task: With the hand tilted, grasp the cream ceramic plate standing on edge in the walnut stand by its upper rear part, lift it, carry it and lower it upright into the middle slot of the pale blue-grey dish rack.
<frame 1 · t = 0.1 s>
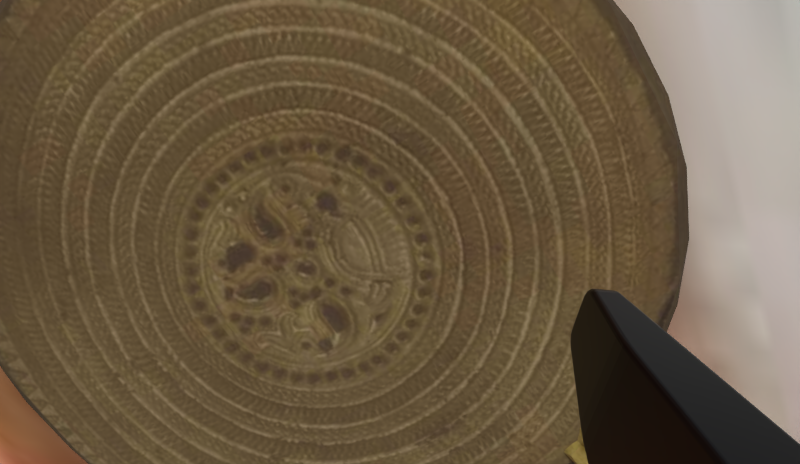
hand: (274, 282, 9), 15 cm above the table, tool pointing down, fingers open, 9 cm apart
decorative disc: (337, 256, 26), on the table
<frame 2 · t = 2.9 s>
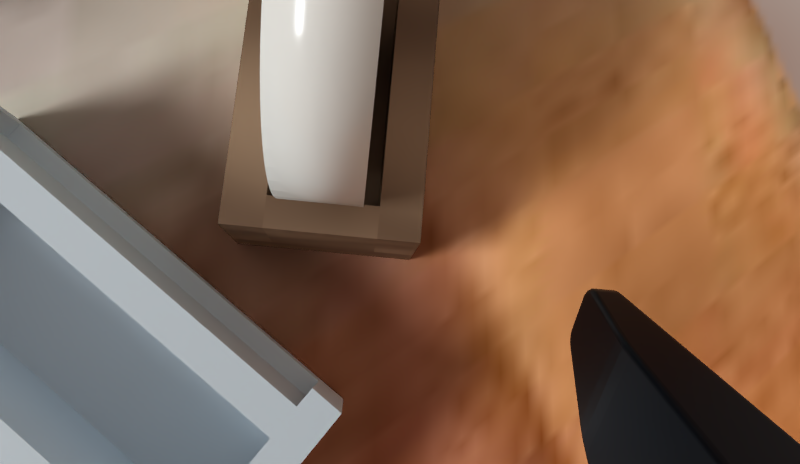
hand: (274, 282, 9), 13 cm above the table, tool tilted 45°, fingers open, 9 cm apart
plate: (337, 21, 18), point 6 cm above the table, tilted 12°, touching stand
stand: (342, 78, 24), on the table
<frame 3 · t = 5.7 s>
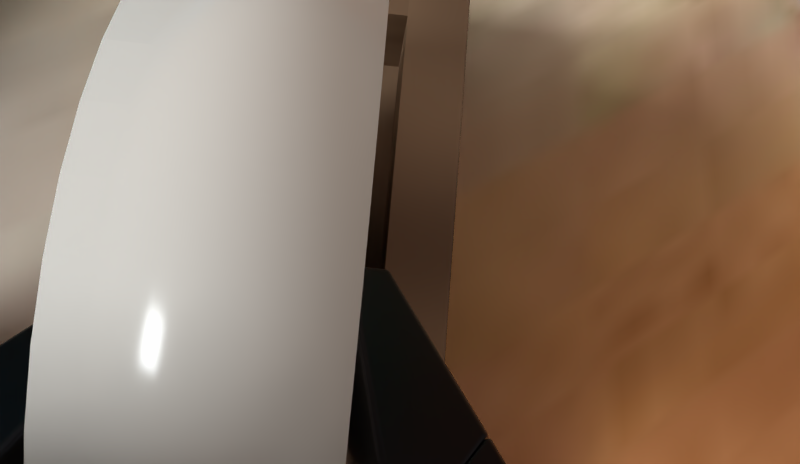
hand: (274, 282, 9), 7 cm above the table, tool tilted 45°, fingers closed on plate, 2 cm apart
plate: (278, 298, 10), point 6 cm above the table, tilted 10°, touching gripper, stand
stand: (308, 283, 16), on the table
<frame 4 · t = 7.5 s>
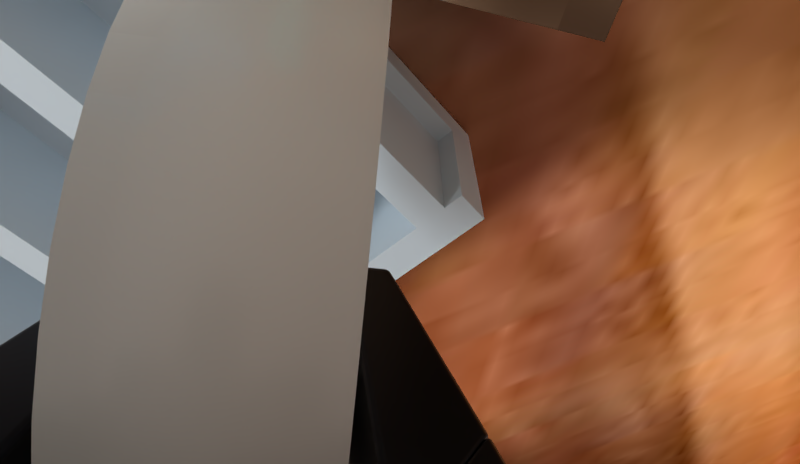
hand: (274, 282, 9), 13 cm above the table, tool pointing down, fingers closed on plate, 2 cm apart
plate: (280, 293, 10), point 12 cm above the table, tilted 35°, touching gripper
rack: (140, 131, 22), on the table
when the fingers open (9 cm above the table, at t = 8.9 s): plate drops 2 cm, resting on rack.
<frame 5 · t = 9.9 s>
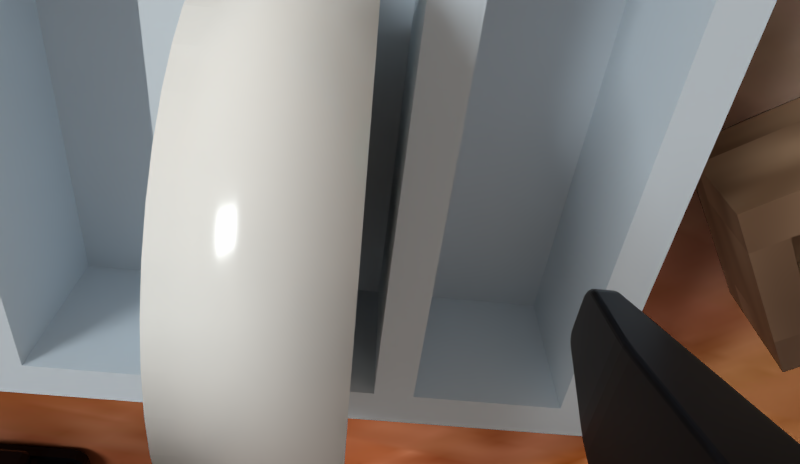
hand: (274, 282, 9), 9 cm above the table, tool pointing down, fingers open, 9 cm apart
plate: (298, 232, 12), point 6 cm above the table, tilted 30°, touching rack
rack: (331, 63, 17), on the table
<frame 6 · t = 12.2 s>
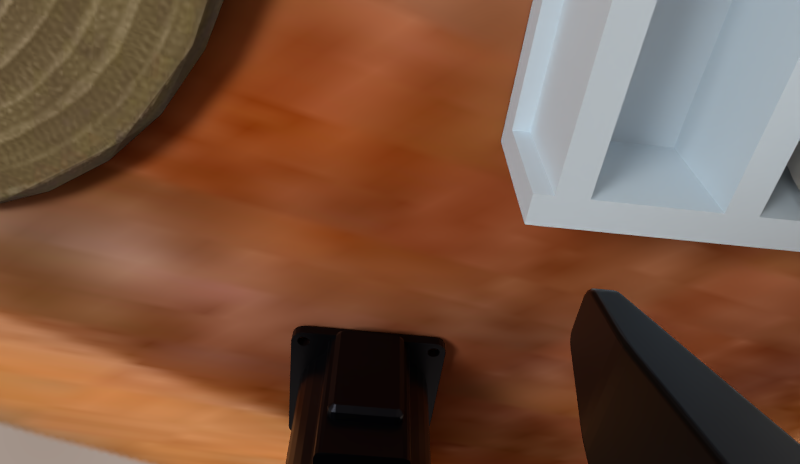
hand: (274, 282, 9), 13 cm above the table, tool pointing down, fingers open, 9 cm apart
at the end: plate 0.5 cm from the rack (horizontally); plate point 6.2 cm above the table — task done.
